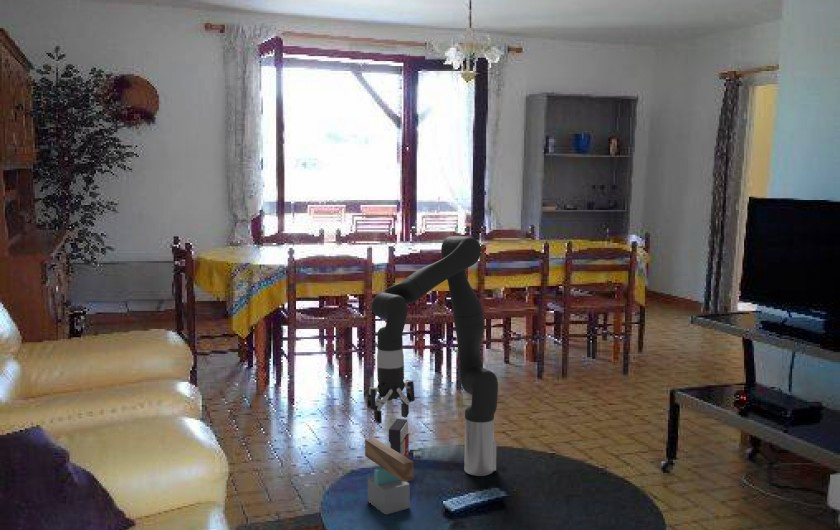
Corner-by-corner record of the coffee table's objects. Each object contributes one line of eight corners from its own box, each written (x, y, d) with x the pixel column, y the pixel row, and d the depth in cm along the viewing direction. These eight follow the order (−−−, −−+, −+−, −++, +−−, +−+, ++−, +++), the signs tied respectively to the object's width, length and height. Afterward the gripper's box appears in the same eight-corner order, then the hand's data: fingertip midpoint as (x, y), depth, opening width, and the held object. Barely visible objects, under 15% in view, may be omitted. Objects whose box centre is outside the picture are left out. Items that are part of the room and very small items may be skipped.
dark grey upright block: (402, 477, 223) (402, 430, 222) (388, 476, 224) (388, 429, 223) (409, 464, 234) (409, 419, 233) (396, 462, 235) (396, 418, 233)
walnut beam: (374, 454, 213) (374, 437, 212) (413, 479, 195) (413, 461, 194) (365, 456, 211) (365, 439, 211) (403, 481, 193) (403, 463, 192)
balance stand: (391, 495, 211) (391, 458, 209) (409, 507, 202) (409, 470, 201) (367, 501, 206) (367, 464, 205) (384, 514, 198) (384, 476, 197)
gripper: (404, 357, 209) (405, 411, 211) (361, 365, 202) (363, 421, 204) (419, 362, 203) (419, 418, 205) (375, 370, 195) (376, 428, 197)
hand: (391, 419), depth 204 cm, fingers open, 8 cm apart
